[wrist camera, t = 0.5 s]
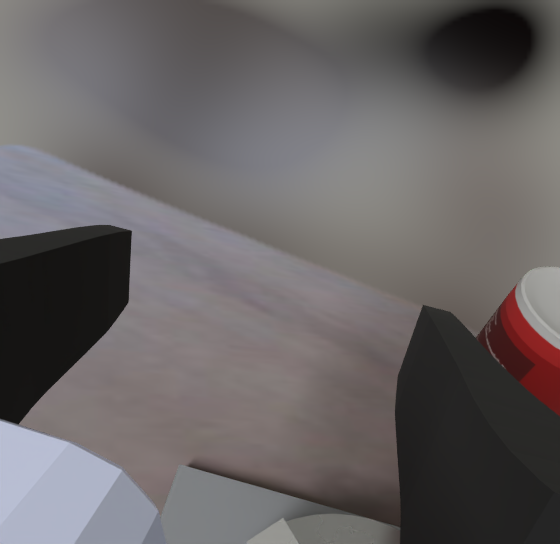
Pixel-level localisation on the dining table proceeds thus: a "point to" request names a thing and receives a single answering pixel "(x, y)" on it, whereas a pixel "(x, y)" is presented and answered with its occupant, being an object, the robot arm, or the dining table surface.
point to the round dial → (328, 531)
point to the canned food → (530, 334)
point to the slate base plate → (227, 509)
